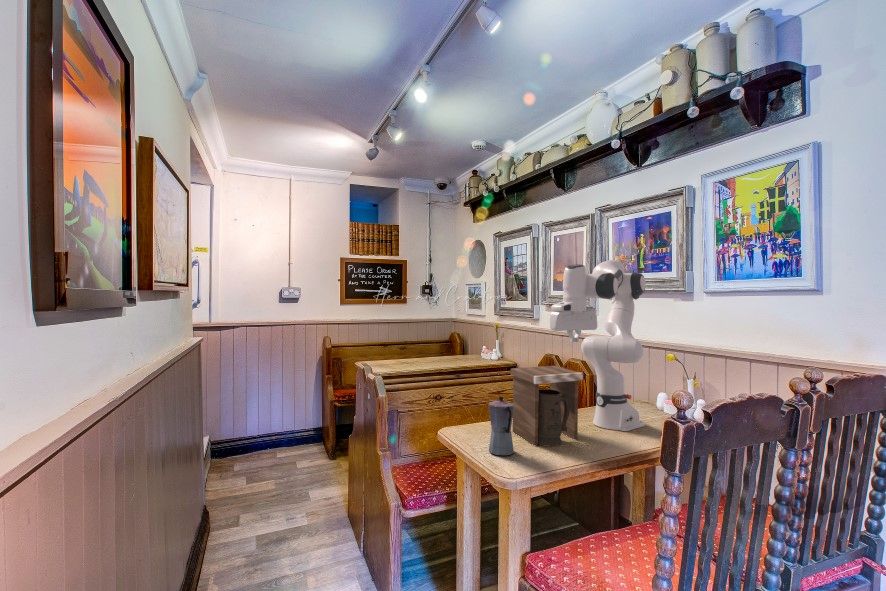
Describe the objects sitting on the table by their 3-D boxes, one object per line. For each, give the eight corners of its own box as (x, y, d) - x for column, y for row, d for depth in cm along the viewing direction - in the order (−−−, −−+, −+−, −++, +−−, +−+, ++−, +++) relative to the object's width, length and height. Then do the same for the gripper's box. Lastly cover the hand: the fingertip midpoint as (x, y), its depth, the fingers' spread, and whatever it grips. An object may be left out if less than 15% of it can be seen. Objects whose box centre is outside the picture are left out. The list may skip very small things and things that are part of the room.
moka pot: (504, 443, 159) (504, 391, 159) (524, 459, 145) (525, 401, 145) (481, 446, 156) (482, 393, 156) (499, 462, 142) (500, 403, 141)
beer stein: (544, 448, 155) (548, 394, 155) (525, 439, 164) (529, 388, 164) (574, 444, 162) (577, 393, 162) (554, 435, 171) (557, 387, 172)
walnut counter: (553, 426, 180) (554, 365, 180) (581, 440, 164) (582, 373, 163) (509, 432, 172) (510, 368, 172) (534, 447, 155) (535, 376, 155)
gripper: (590, 305, 167) (589, 340, 168) (547, 306, 160) (547, 341, 160) (601, 306, 162) (600, 342, 162) (557, 306, 154) (557, 343, 154)
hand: (573, 342), depth 161 cm, fingers closed
